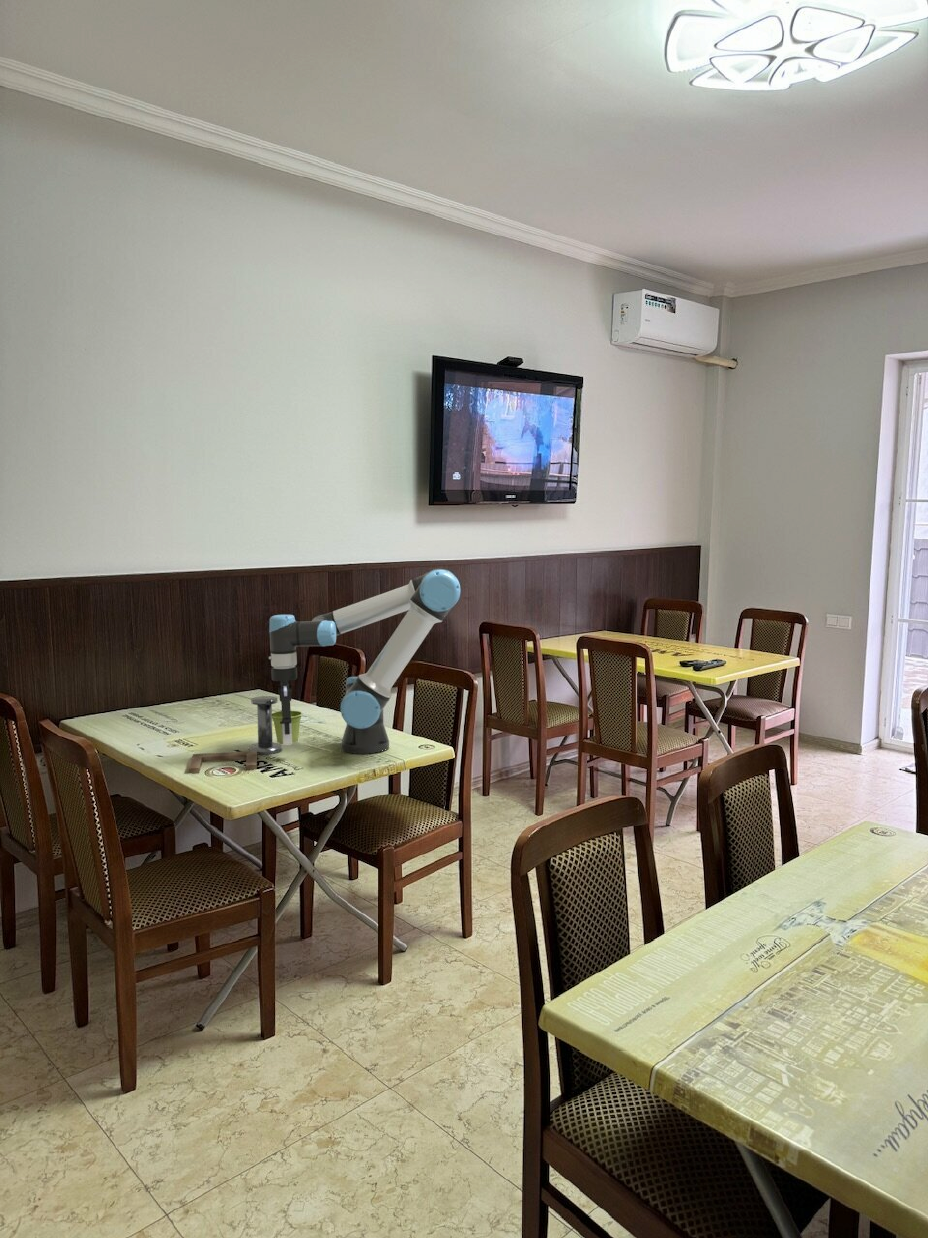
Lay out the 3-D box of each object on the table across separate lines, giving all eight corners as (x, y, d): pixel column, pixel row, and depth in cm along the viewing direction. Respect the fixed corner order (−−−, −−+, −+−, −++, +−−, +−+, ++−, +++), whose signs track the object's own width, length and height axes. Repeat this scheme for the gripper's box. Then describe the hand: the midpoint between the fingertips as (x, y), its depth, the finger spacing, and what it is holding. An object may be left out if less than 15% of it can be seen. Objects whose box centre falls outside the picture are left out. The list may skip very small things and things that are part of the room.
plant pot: (307, 738, 272) (306, 710, 271) (298, 746, 263) (297, 717, 262) (277, 738, 273) (276, 710, 272) (267, 746, 264) (266, 717, 263)
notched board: (257, 755, 273) (257, 750, 273) (256, 769, 258) (256, 764, 258) (192, 759, 269) (192, 754, 269) (188, 773, 254) (188, 768, 254)
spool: (281, 746, 285) (280, 694, 283) (282, 754, 275) (280, 701, 273) (249, 747, 282) (248, 696, 281) (248, 756, 273) (247, 702, 271)
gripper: (271, 661, 275) (274, 733, 277) (271, 673, 254) (275, 750, 257) (295, 660, 276) (298, 732, 279) (297, 671, 256) (301, 748, 258)
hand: (287, 740), depth 268 cm, fingers closed on plant pot, 8 cm apart
